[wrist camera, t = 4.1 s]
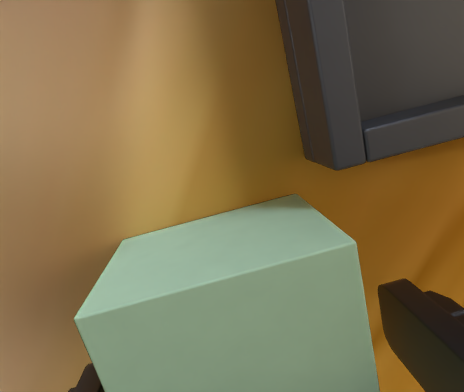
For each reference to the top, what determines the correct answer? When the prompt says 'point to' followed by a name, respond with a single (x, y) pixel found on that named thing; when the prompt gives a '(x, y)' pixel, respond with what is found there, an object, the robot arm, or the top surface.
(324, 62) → the frame
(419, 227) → the top surface
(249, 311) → the sage pad
